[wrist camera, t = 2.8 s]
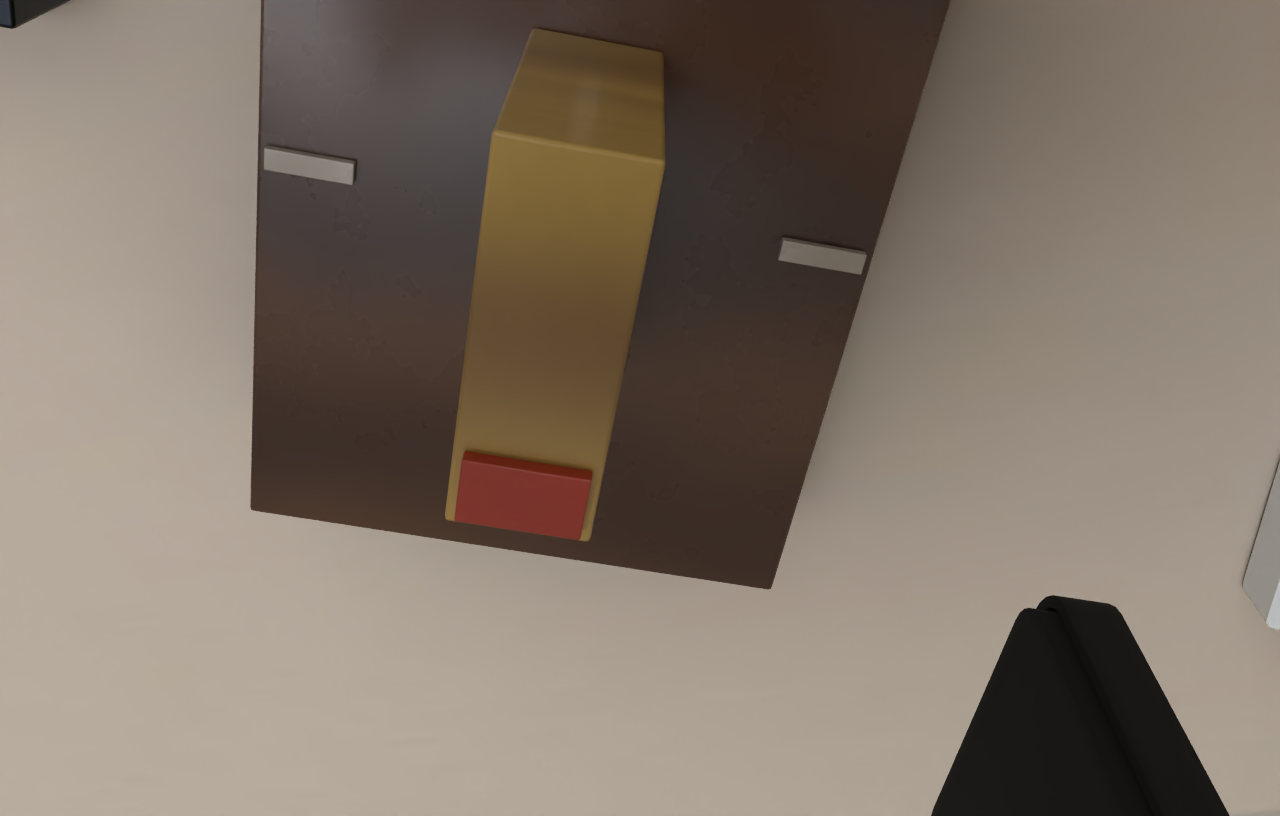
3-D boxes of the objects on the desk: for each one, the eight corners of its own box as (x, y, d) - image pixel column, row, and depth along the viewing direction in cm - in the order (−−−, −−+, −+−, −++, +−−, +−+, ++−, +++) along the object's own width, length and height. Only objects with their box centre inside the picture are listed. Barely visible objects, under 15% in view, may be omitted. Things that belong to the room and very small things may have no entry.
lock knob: (532, 26, 18) (489, 136, 13) (664, 51, 18) (666, 169, 13) (488, 349, 20) (440, 532, 16) (603, 368, 21) (588, 554, 16)
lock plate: (324, -357, 18) (264, -368, 15) (965, -220, 19) (1019, -208, 16) (292, 427, 25) (247, 515, 22) (759, 501, 26) (771, 596, 23)
